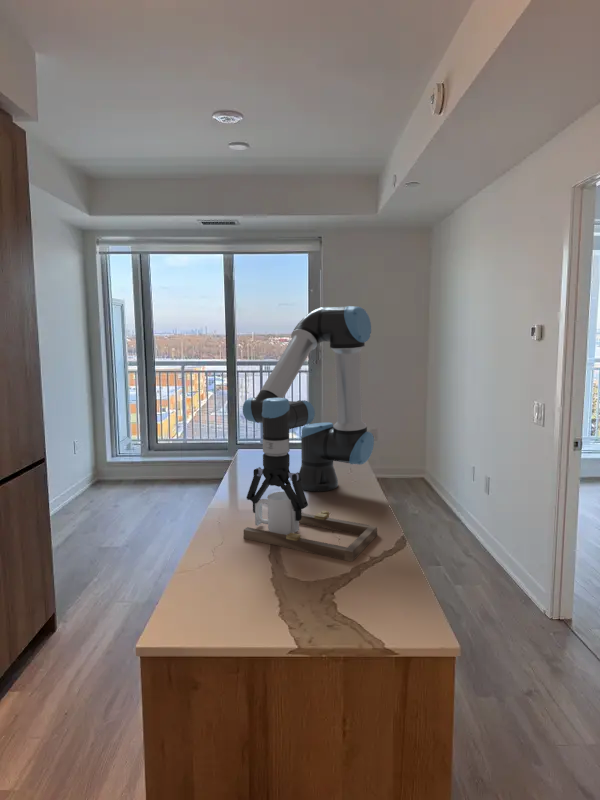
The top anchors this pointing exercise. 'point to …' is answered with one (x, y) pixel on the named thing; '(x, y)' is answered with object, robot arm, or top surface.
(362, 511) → the top surface
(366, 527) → the track
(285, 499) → the cup
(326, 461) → the robot arm
